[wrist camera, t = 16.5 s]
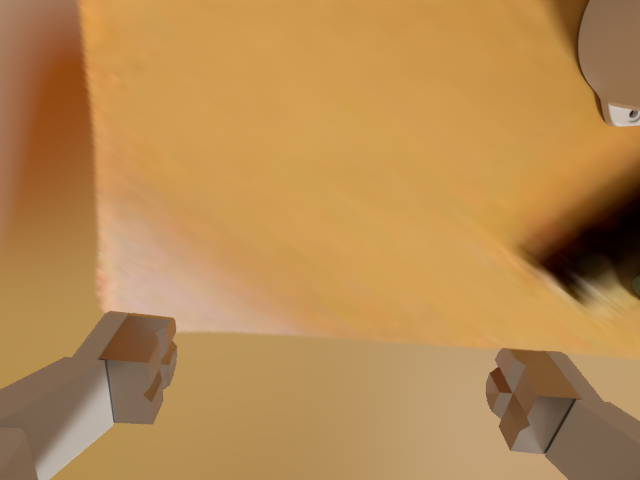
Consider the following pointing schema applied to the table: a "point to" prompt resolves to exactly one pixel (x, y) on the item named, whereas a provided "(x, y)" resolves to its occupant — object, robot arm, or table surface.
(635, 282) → the green pot
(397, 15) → the table surface
